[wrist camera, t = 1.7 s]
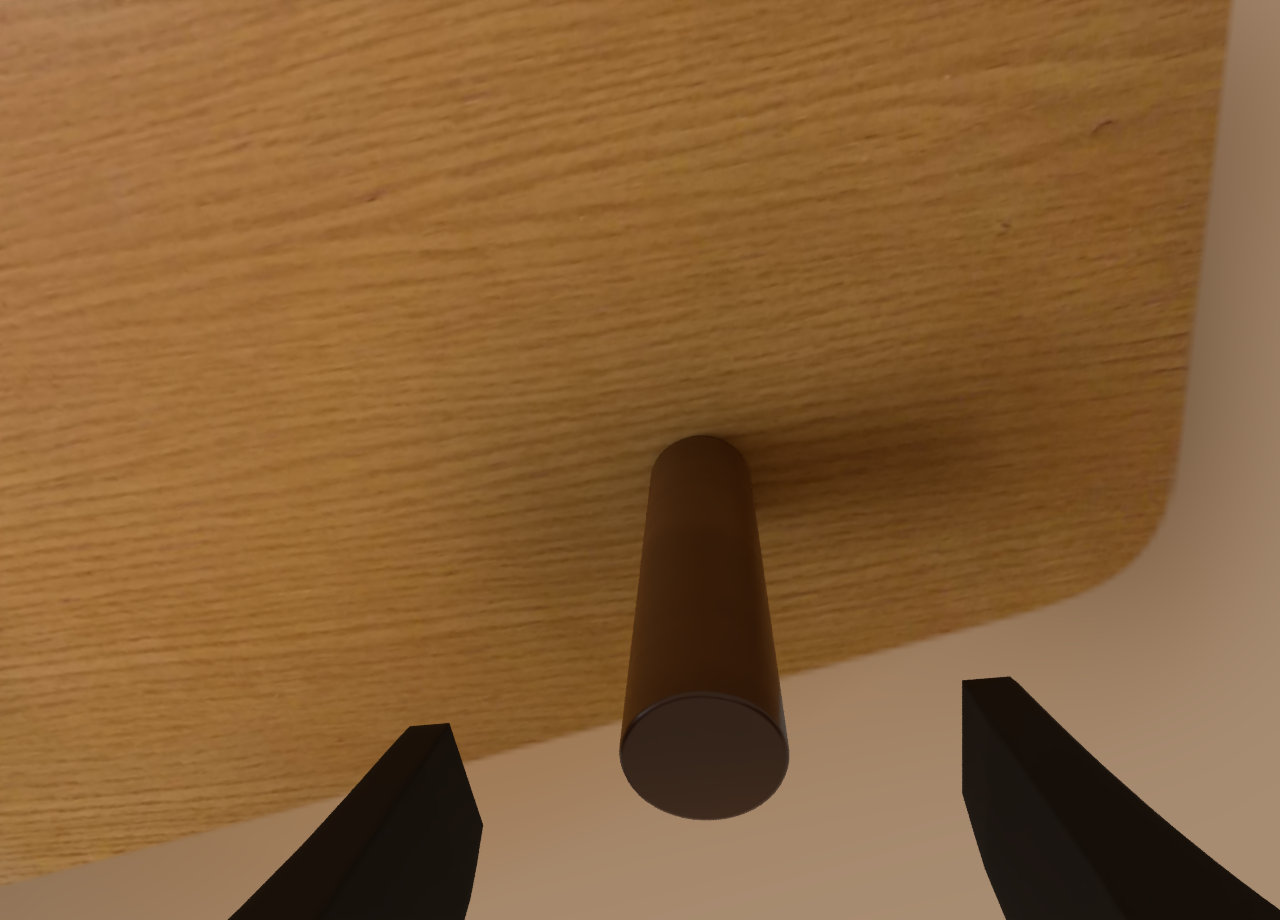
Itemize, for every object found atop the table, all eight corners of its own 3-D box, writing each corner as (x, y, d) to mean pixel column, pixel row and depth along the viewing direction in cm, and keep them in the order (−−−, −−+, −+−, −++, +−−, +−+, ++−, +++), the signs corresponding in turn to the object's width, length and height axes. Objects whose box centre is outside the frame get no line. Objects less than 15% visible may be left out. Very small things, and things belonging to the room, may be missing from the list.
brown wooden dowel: (755, 518, 20) (796, 817, 12) (658, 529, 20) (633, 827, 12) (744, 428, 19) (782, 686, 11) (643, 441, 19) (604, 701, 11)
